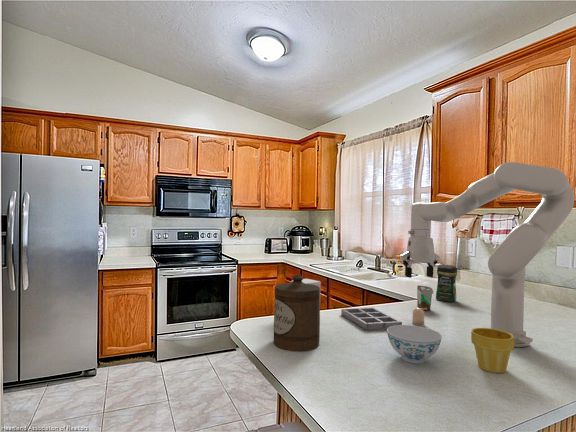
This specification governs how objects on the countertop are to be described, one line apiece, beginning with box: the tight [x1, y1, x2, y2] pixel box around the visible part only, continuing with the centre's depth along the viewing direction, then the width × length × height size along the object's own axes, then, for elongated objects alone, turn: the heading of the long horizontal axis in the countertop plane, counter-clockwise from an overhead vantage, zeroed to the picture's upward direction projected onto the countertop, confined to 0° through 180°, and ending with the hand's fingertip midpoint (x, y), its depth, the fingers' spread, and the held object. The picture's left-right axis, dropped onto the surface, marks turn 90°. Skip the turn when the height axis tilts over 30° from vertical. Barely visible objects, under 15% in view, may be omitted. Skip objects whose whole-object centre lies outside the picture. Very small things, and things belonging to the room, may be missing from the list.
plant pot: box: [470, 327, 515, 374], centre depth 98 cm, size 10×10×10 cm
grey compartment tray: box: [340, 307, 403, 332], centre depth 142 cm, size 22×15×2 cm
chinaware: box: [386, 324, 443, 364], centre depth 104 cm, size 15×15×8 cm
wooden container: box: [273, 273, 321, 352], centre depth 114 cm, size 15×15×22 cm
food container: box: [416, 284, 434, 312], centre depth 164 cm, size 12×6×10 cm, turn 168°
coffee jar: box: [435, 264, 458, 303], centre depth 185 cm, size 10×8×19 cm
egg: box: [411, 307, 425, 326], centre depth 141 cm, size 4×4×6 cm
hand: (419, 276), depth 141 cm, fingers open, 9 cm apart
